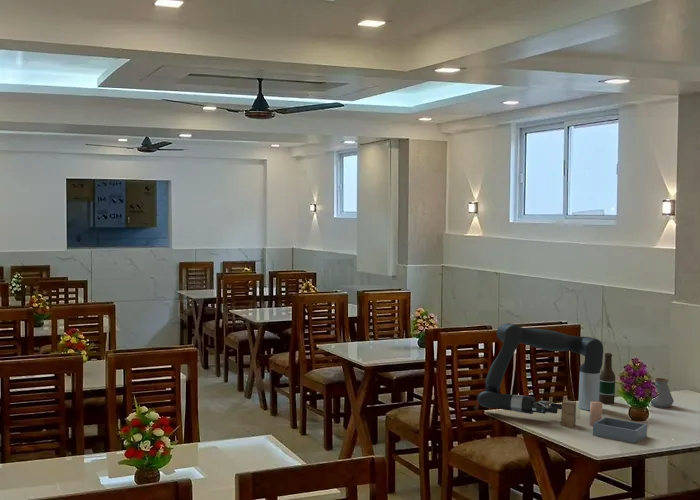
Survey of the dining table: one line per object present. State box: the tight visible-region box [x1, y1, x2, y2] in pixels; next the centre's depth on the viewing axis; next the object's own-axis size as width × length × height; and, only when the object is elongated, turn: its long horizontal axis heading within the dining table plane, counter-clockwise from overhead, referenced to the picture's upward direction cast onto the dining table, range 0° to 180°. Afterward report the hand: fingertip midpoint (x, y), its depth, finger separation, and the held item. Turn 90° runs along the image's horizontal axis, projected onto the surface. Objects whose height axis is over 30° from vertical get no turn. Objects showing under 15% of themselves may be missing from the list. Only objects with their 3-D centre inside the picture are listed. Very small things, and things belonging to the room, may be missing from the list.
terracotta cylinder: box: [589, 401, 603, 427], centre depth 354 cm, size 5×5×10 cm
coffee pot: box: [650, 377, 674, 409], centre depth 391 cm, size 21×12×15 cm, turn 116°
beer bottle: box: [599, 352, 616, 405], centre depth 397 cm, size 8×8×24 cm
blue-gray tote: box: [592, 416, 648, 444], centre depth 338 cm, size 14×18×5 cm
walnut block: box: [560, 399, 577, 428], centre depth 353 cm, size 5×5×10 cm
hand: (559, 408), depth 355 cm, fingers open, 8 cm apart
